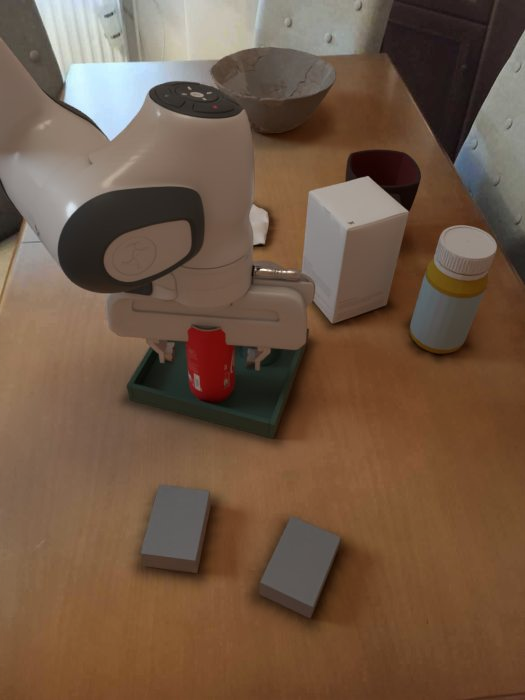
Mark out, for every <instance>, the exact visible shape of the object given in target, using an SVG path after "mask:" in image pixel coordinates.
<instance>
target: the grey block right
mask: <svg viewBox="0 0 525 700" xmlns="http://www.w3.org/2000/svg"><path fill="white" fill-rule="evenodd" d="M341 541H342V537H341V536H339V535H337V534H334V533H332V532H330V531H327V530H325V529H324V528H321V527H319V526H317V525H314V524H312V523H309V522H307V521H305V520H302V519H300V518H298V517H295V516H293V515H291V516H290V517H289V520H288V522H287V524H286V526H285V528H284V529H283V532H282V534H281V536H280V538H279V541H278V542H277V545H276V547H275V549H274V551H273V553H272V556H271V557H270V559H269V562H268V564H267V565H266V568H265V570H264V572H263V574H262V577H261V578H260V580H259V592H258V593H259V595H260V596H262V597H265V598H266V599H267V600H270V601H272V602H275V603H276V604H278V605H281V606H283V607H284V608H287V609H289V610H291V611H293V612H294V613H297V614H299V615H300V616H301V615H302V616H303V617H305V618H308V619H312V616H313V614H314V612H315V609H316V606H317V604H318V601H319V599H320V597H321V594H322V592H323V589H324V586H325V583H326V581H327V579H328V576H329V574H330V572H331V568H332V566H333V563H334V561H335V559H336V556H337V553H338V552H339V548H340V544H341Z"/></svg>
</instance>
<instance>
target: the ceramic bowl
mask: <svg viewBox="0 0 525 700" xmlns="http://www.w3.org/2000/svg"><path fill="white" fill-rule="evenodd" d="M209 70H210V71H209V75H210V77H211V79H212V80H213V82H214V84H215V85H216V88H217V89H219V90H220V91H222V92H224V93H226V94H227V95H229V96H230V97H232V98H233V99H234V100H236V101H237V102H238V103H239V104H240V105H241V106H242V107H243V108H244V109H245V111H246V113H247V116H248V119H249V123H250V127H251V131H254V132H259V133H262V134H280V133H285V132H289V131H291V130H294V129H296V128H298V127H300V126H301V125H303V124H304V123H306V122H307V121H308V120H309V119H310V118H311V116H313V114H314V113H315V111H316V110H317V109H318V108H319V107H320V105H321V103H322V102H323V101H324V99H325V98H326V96H327V95H328V93H329V92H330V90H331V88H332V87H333V86H334V84H335V82H336V80H337V71H336V68H335V66H333V64H331V63H330V62H328V61H327V59H324V58H321V57H320V56H318V55H315V54H313V53H310V52H307V51H302V50H298V49H294V48H287V47H273V46H266V47H263V46H261V47H251V48H246V49H242V50H238V51H236V52H234V53H230V54H228V55H225V56H223V57H222V58H221V59H219V60H217V61H216V62H215V64H213V65H212V66H211V67H210V69H209Z"/></svg>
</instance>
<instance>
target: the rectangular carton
mask: <svg viewBox="0 0 525 700" xmlns="http://www.w3.org/2000/svg"><path fill="white" fill-rule="evenodd" d="M306 209H307V210H306V221H305V231H304V241H303V252H302V265H301V273H302V274H305V275H307V276H309V277H310V278H311V279H313V281H314V283H315V295H314V300H313V301H312V302H314V304H315V305H316V306H317V307H318V309H319V310H320V311H321V312H322V313H323V315H324V316H325V317H326V319H328V321H329V322H330V323H331V324H332V325H333V324H337V323H340V322H342V321H345V320H348V319H350V318H354V317H357V316H359V315H362V314H366V313H369V312H371V311H374V310H377V309H379V308H382V307H385V306H387V305H388V301H389V297H390V292H391V288H392V284H393V279H394V275H395V271H396V268H397V263H398V259H399V254H400V251H401V248H402V247H401V246H402V242H403V238H404V234H405V230H406V226H407V222H408V218H409V214H410V212H409V211H407V210H406V209H405V208H404V207H403V206H402V205H400V204H399V203H398V202H397V201H396V200H395V199H393V198H392V197H391V196H390V195H389V194H388V193H387V192H385V191H384V190H383V189H382V188H381V187H380V186H379V185H377V184H376V183H375V182H374V181H373V180H372V179H371V178H370V177H369V176H367V177H362V178H358V179H354V180H351V181H348V182H345V181H344V182H340V183H336V184H332V185H328V186H322V187H319V188H315V189H311V190H310V191H308V198H307V208H306Z"/></svg>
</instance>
